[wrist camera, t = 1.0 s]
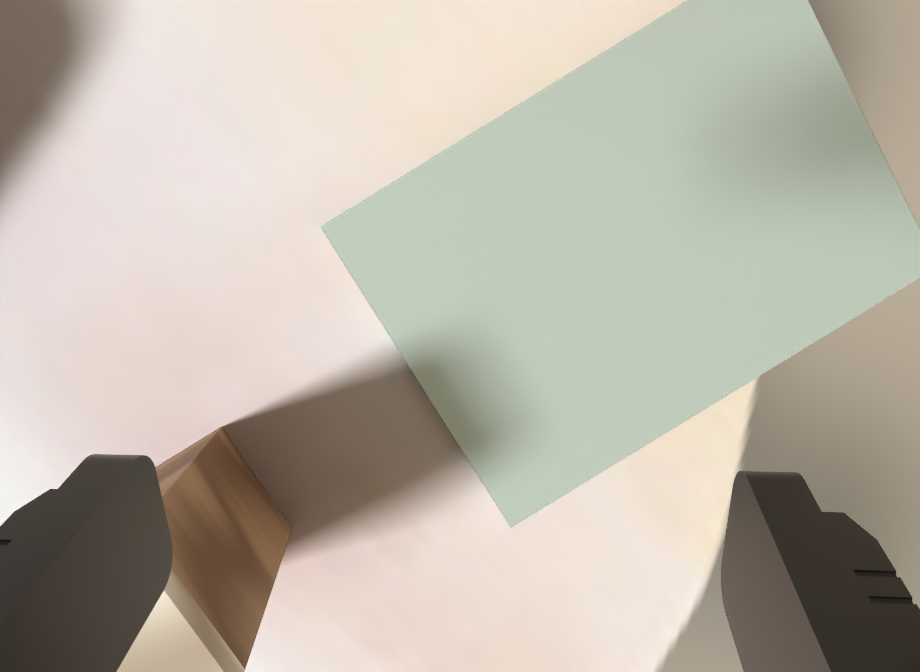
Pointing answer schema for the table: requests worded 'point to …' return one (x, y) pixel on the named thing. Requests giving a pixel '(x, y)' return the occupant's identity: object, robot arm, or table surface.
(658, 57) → the rubber mat
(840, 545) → the robot arm
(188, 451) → the walnut block
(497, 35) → the table surface
